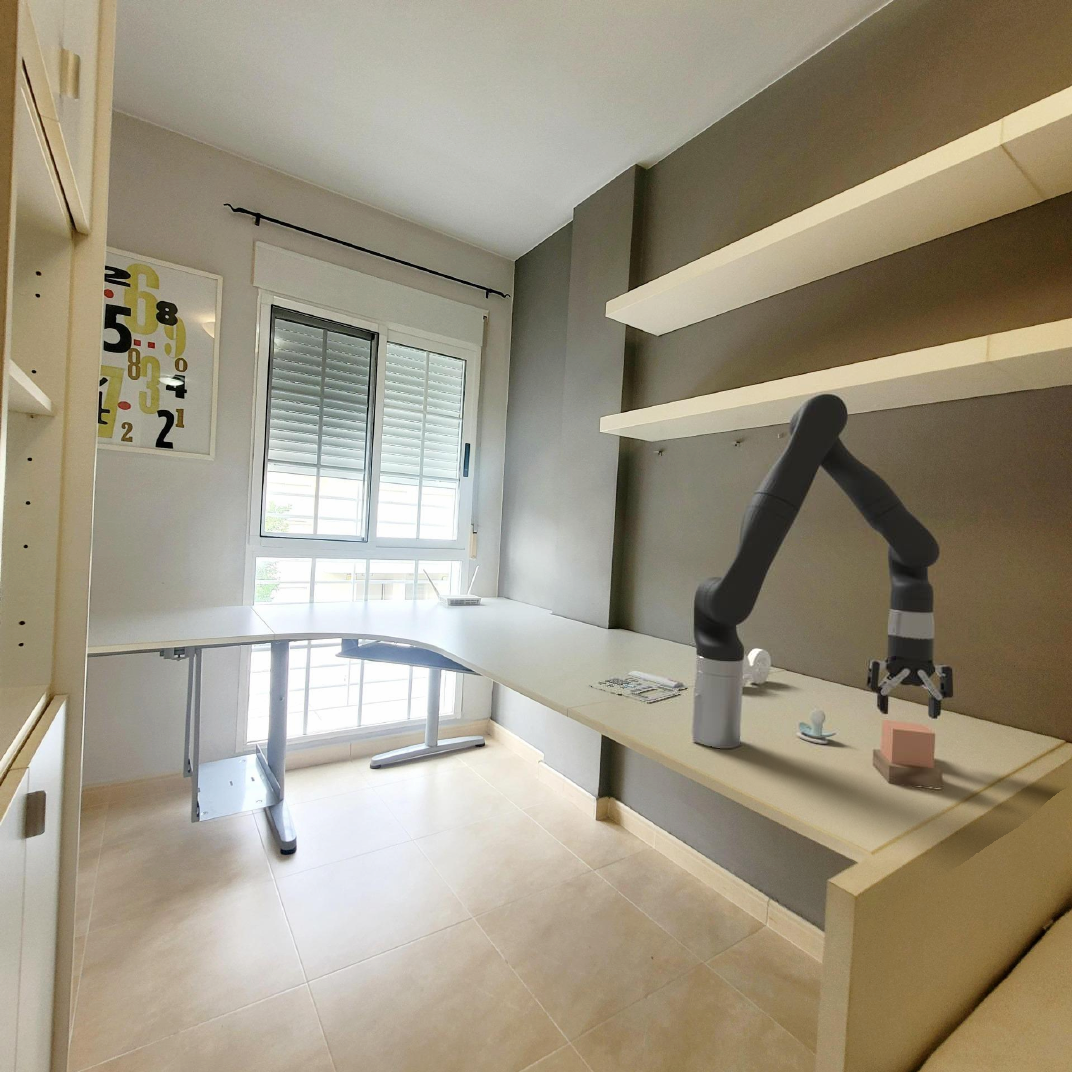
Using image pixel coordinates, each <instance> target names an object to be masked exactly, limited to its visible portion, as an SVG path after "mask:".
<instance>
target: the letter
mask: <svg viewBox="0 0 1072 1072" xmlns="http://www.w3.org/2000/svg"><path fill="white" fill-rule="evenodd" d="M771 662H772V661H771V656H770V654H769V652H768V651H767V650H765V649H762V648H753V649H752V650H751V651H750V652H749V653H748V655H746V654H745V653H744V665H743V688H744V687H745V686H746V685H747V683H748V682H750V683H752V684H756V685H760V684H759V683H763V684H764V683H765V682H766V681H767V679H768V677H769V675H770V672H771V664H772V663H771Z"/></svg>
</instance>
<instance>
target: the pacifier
mask: <svg viewBox="0 0 1072 1072" xmlns="http://www.w3.org/2000/svg"><path fill="white" fill-rule="evenodd" d="M810 720H811V722H812V723H811V724H812V725H810V724H809V723H807V722H800V723H798V727H799V730H800V731H799V732H796V735H797V737H798V738H800V739H802V740H805V741H808V742H810V743H814V744H821V745H825V744H828V743H829V740H827V738H830V737H834V736H835V735H836V734H837V733H836V732H830V733H829V732H826V733H825V732H823V729H824V728H823V724H824V723H825V721H826V714H825V712H824V711H823V710H822V709H820V708H815V709H813V710H812V711H811V712H810Z"/></svg>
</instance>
